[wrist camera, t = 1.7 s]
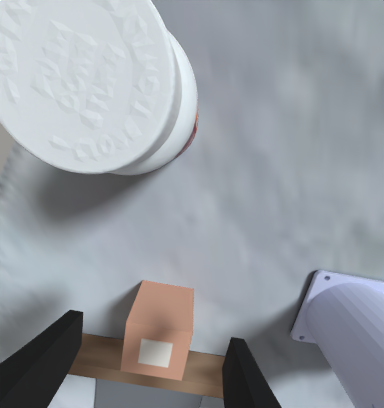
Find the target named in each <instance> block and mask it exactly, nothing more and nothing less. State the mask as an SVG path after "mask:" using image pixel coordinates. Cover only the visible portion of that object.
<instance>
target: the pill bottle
mask: <svg viewBox="0 0 384 408" xmlns="http://www.w3.org/2000/svg"><path fill="white" fill-rule="evenodd" d="M0 122H1V123H2V125H3V126H4V127H5V129H6V130H7V131H8V133H9V134H10V135H11V136H12V137H13V138H14V139H15V140H16V141H17V142H18V143H19V144H20V145H21V146H22V147H23V148H25V149H26V150H27V151H28V152H29V153H31V154H32V155H34V156H35V157H37V158H38V159H40V160H42V161H44V162H45V163H47V164H50V165H52V166H54V167H56V168H59V169H62V170H65V171H69V172H74V173H80V174H102V173H108V172H109V173H112V174H118V175H138V174H143V173H148V172H151V171H154V170H156V169H159V168H161V167H162V166H164V165H165V164H167V163H169V162H170V161H171V160H173V159H175V158H176V157H178V156H179V155H181V154H182V153H183V152H184V151H185V150H186V149H187V148H188V147H189V145H190V144H191V142H192V141H193V139H194V136H195V134H196V130H197V126H198V96H197V87H196V81H195V77H194V73H193V70H192V67H191V65H190V62H189V60H188V58H187V56H186V54H185V52H184V50H183V49H182V47H181V46H180V44H179V43H178V42H177V40H176V39H175V38H174V37H173V35H172V34H171V33H170V32H169V31H168V30H167V29H166V27H165V25H164V23H163V20H162V18H161V16H160V15H159V13H158V11H157V9H156V8H155V6H154V4H153V3H152V1H151V0H0Z"/></svg>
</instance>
